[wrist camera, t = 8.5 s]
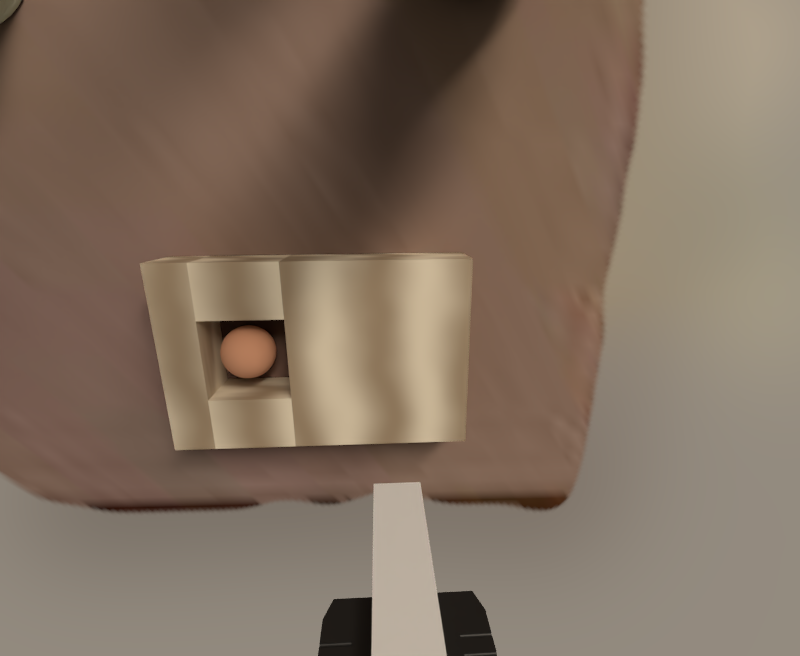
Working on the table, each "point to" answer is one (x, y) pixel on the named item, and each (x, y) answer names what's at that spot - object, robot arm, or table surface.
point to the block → (316, 348)
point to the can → (7, 8)
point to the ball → (248, 351)
